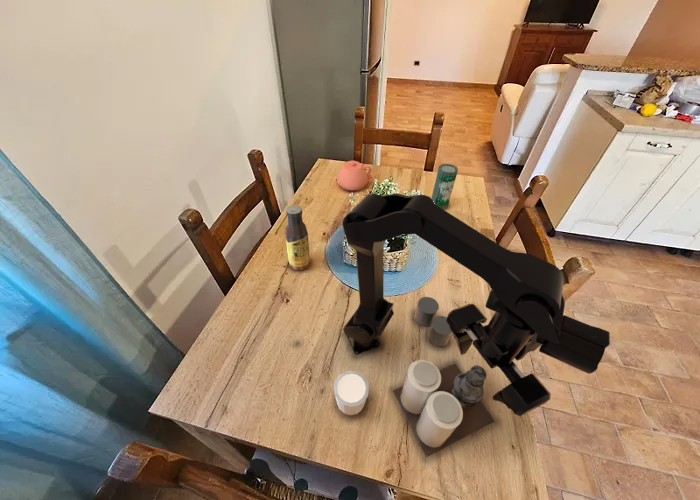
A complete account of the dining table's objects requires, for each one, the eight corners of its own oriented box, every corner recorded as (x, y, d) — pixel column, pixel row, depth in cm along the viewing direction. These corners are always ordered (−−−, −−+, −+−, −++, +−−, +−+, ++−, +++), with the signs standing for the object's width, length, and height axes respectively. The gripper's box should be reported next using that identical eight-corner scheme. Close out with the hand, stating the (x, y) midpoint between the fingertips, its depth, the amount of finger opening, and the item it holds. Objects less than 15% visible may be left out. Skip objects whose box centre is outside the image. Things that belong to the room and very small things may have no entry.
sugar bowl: (335, 177, 127) (335, 154, 120) (369, 176, 128) (370, 153, 121) (338, 194, 118) (337, 170, 111) (374, 192, 120) (375, 168, 113)
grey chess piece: (470, 415, 62) (489, 391, 53) (444, 394, 65) (459, 368, 56) (483, 393, 65) (503, 368, 56) (458, 374, 68) (474, 347, 59)
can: (438, 211, 111) (447, 174, 101) (427, 202, 115) (435, 166, 105) (450, 206, 114) (461, 170, 103) (439, 198, 117) (448, 162, 107)
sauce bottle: (297, 274, 89) (288, 221, 75) (285, 263, 92) (274, 209, 78) (315, 264, 92) (310, 210, 78) (303, 253, 95) (296, 199, 81)
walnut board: (425, 458, 57) (426, 457, 57) (392, 391, 66) (392, 390, 65) (494, 422, 61) (495, 421, 61) (454, 364, 70) (455, 363, 70)
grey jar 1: (420, 330, 76) (425, 316, 72) (410, 314, 80) (414, 300, 75) (437, 323, 78) (443, 309, 73) (426, 308, 81) (431, 294, 77)
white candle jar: (335, 383, 66) (334, 369, 62) (367, 385, 66) (368, 370, 62) (333, 418, 62) (332, 405, 57) (367, 419, 61) (369, 407, 57)
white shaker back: (409, 419, 61) (419, 395, 53) (395, 390, 65) (402, 364, 57) (435, 406, 63) (449, 382, 55) (419, 379, 67) (430, 353, 58)
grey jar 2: (434, 350, 72) (439, 337, 68) (422, 333, 76) (427, 319, 71) (452, 343, 74) (458, 330, 69) (440, 326, 77) (445, 312, 73)
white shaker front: (427, 453, 57) (441, 433, 49) (410, 420, 61) (420, 397, 53) (453, 439, 59) (471, 418, 50) (436, 408, 63) (450, 383, 54)
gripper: (601, 365, 43) (550, 406, 54) (506, 273, 56) (480, 321, 66) (541, 396, 40) (500, 433, 51) (455, 291, 52) (436, 338, 63)
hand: (478, 374), depth 58 cm, fingers open, 9 cm apart
